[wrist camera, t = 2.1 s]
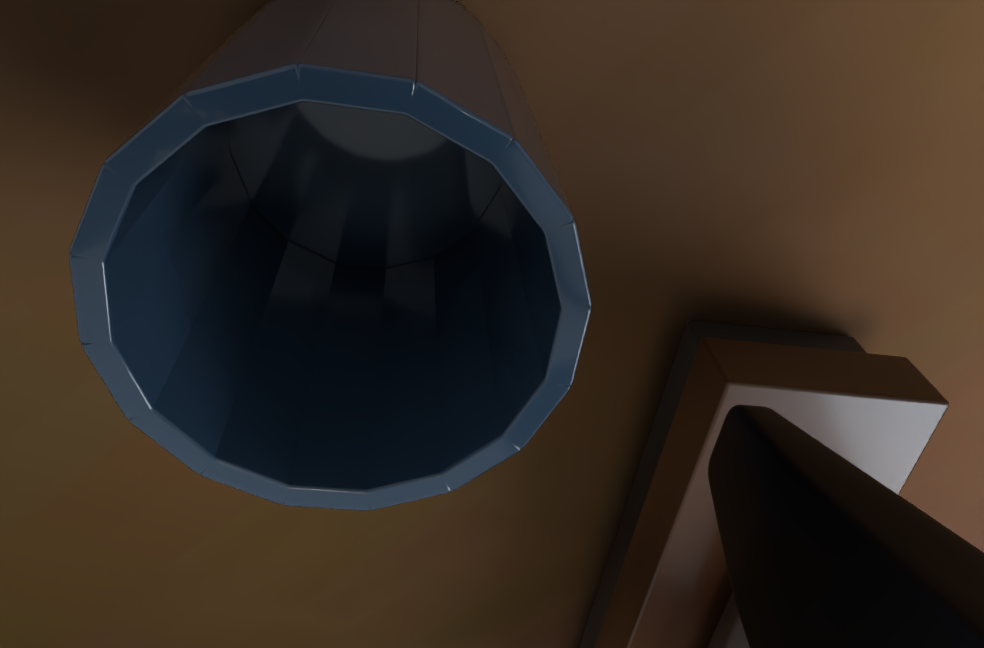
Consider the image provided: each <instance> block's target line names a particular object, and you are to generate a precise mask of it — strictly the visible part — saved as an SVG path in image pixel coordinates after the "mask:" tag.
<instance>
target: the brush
mask: <svg viewBox="0 0 984 648" xmlns="http://www.w3.org/2000/svg"><path fill="white" fill-rule="evenodd" d="M736 405H751V406H763V407H768V408H770V409H772V410H774V411H775V412H777V413H778V414H780V415H781V416H783V417H784V418H786V419H787V420H789V421H790V422H791V423H793V424H794V425H796V426H797V427H799V428H800V429H802V430H803V431H805V432H806V433H808V434H809V435H811V436H812V437H814V438H815V439H817V440H818V441H820V442H821V443H822V444H824V445H825V446H827V447H828V448H830V449H831V450H833V451H834V452H836V453H837V454H839V455H840V456H842V457H843V458H845V459H846V460H848V461H849V462H851V463H852V464H853V465H855V466H856V467H858V468H859V469H861V470H862V471H864V472H865V473H867V474H868V475H870V476H871V477H873V478H874V479H876V480H877V481H879V482H880V483H881V484H883V485H884V486H886V487H887V488H889V489H890V490H892V491H893V492H895V493H896V494H898V495H899V493H900V491H901V490H902V488H903V486H904V484H905V483H906V481H907V479H908V477H909V475H910V474H911V472H912V470H913V468H914V467H915V465H916V463H917V461H918V459H919V458H920V456H921V454H922V452H923V451H924V449H925V447H926V445H927V443H928V442H929V440H930V438H931V436H932V435H933V433H934V431H935V429H936V427H937V426H938V424H939V422H940V420H941V419H942V417H943V415H944V413H945V411H946V410H947V408H948V406H949V402H948V401H947V400H946V399H945V398H944V397H943V396H942V395H941V394H940V392H939V391H938V390H937V389H936V388H935V387H934V386H933V385H932V384H931V383H930V382H929V381H928V380H927V379H926V378H925V377H924V375H923V374H922V373H921V372H920V371H919V370H918V369H917V368H916V367H915V366H914V365H913V364H912V363H911V362H910V361H909V360H908V359H907V358H905V357H898V356H888V355H878V354H868V353H867V352H866V351H865V350H864V349H863V348H862V347H861V346H860V344H859V343H858V342H857V341H856V340H855V339H854V338H852V337H845V336H835V335H826V334H816V333H806V332H797V331H787V330H777V329H768V328H758V327H748V326H738V325H729V324H719V323H709V322H700V321H688V322H687V323H686V327H685V330H684V333H683V336H682V339H681V342H680V345H679V348H678V351H677V354H676V357H675V360H674V363H673V366H672V369H671V372H670V375H669V378H668V381H667V384H666V387H665V390H664V393H663V396H662V399H661V402H660V405H659V408H658V411H657V414H656V417H655V420H654V423H653V426H652V429H651V432H650V435H649V438H648V441H647V444H646V447H645V450H644V453H643V456H642V459H641V462H640V465H639V468H638V471H637V474H636V478H635V481H634V484H633V487H632V490H631V493H630V496H629V499H628V502H627V505H626V508H625V511H624V514H623V517H622V520H621V523H620V526H619V529H618V532H617V535H616V538H615V541H614V544H613V547H612V550H611V553H610V556H609V559H608V562H607V565H606V568H605V571H604V574H603V577H602V580H601V583H600V586H599V589H598V592H597V595H596V598H595V601H594V604H593V607H592V610H591V613H590V616H589V619H588V622H587V625H586V628H585V632H584V635H583V638H582V641H581V644H580V647H579V648H750V647H749V644H748V641H747V638H746V635H745V632H744V629H743V625H742V622H741V619H740V616H739V613H738V610H737V606H736V603H735V600H734V596H733V592H732V588H731V584H730V580H729V576H728V571H727V566H726V561H725V557H724V552H723V547H722V542H721V537H720V533H719V528H718V523H717V518H716V514H715V509H714V504H713V499H712V494H711V490H710V485H709V479H708V465H709V460H710V456H711V454H712V451H713V449H714V446H715V443H716V441H717V438H718V436H719V433H720V430H721V428H722V425H723V423H724V420H725V417H726V415H727V413H728V411H729V410H730V409H731V408H732V407H734V406H736Z"/></svg>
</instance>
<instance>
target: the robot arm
mask: <svg viewBox="0 0 984 648" xmlns="http://www.w3.org/2000/svg"><path fill="white" fill-rule="evenodd" d="M708 479H709V485H710V490H711V494H712V499H713V504H714V509H715V514H716V518H717V523H718V528H719V533H720V537H721V542H722V547H723V552H724V557H725V561H726V566H727V571H728V576H729V580H730V584H731V588H732V592H733V596H734V600H735V603H736V606H737V610H738V613H739V616H740V619H741V622H742V625H743V629H744V632H745V635H746V638H747V641H748V644H749V647H750V648H984V553H983V552H982V551H980V550H979V549H977V548H976V547H974V546H973V545H971V544H970V543H969V542H967V541H966V540H964V539H963V538H961V537H960V536H958V535H957V534H955V533H954V532H952V531H951V530H949V529H948V528H946V527H945V526H943V525H942V524H941V523H939V522H938V521H936V520H935V519H933V518H932V517H930V516H929V515H927V514H926V513H924V512H923V511H921V510H920V509H918V508H917V507H915V506H914V505H912V504H911V503H910V502H908V501H907V500H905V499H904V498H902V497H901V496H899V495H898V494H896V493H895V492H893V491H892V490H890V489H889V488H887V487H886V486H884V485H883V484H881V483H880V482H879V481H877V480H876V479H874V478H873V477H871V476H870V475H868V474H867V473H865V472H864V471H862V470H861V469H859V468H858V467H856V466H855V465H853V464H852V463H851V462H849V461H848V460H846V459H845V458H843V457H842V456H840V455H839V454H837V453H836V452H834V451H833V450H831V449H830V448H828V447H827V446H825V445H824V444H822V443H821V442H820V441H818V440H817V439H815V438H814V437H812V436H811V435H809V434H808V433H806V432H805V431H803V430H802V429H800V428H799V427H797V426H796V425H794V424H793V423H791V422H790V421H789V420H787V419H786V418H784V417H783V416H781V415H780V414H778V413H777V412H775V411H774V410H772V409H770V408H768V407H763V406H751V405H736V406H734V407H732V408H731V409H730V410H729V411H728V413H727V415H726V417H725V420H724V423H723V425H722V428H721V430H720V433H719V436H718V438H717V441H716V443H715V446H714V449H713V451H712V454H711V456H710V460H709V465H708Z"/></svg>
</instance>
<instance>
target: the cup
mask: <svg viewBox="0 0 984 648" xmlns="http://www.w3.org/2000/svg"><path fill="white" fill-rule="evenodd" d="M69 261H70V269H71V277H72V285H73V293H74V301H75V309H76V317H77V325H78V333H79V340H80V342H81V345H82V348H83V349H84V351H85V353H86V354H87V356H88V357H89V359H90V361H91V362H92V364H93V365H94V367H95V369H96V370H97V372H98V374H99V375H100V377H101V378H102V380H103V382H104V383H105V385H106V386H107V388H108V390H109V391H110V393H111V394H112V396H113V398H114V399H115V401H116V403H117V404H118V406H119V407H120V409H121V411H122V412H123V414H124V415H125V417H126V418H127V419H129V421H130V422H131V423H132V424H133V425H134V426H136V427H137V428H138V429H140V430H141V431H142V432H144V433H145V434H146V435H147V436H149V437H150V438H151V439H153V440H154V441H155V442H156V443H158V444H159V445H160V446H162V447H163V448H164V449H166V450H167V451H168V452H169V453H171V454H172V455H173V456H175V457H176V458H177V459H179V460H180V461H181V462H182V463H184V464H185V465H186V466H188V467H189V468H190V469H191V470H193V471H194V472H195V473H198V474H199V473H200V475H201V476H203V477H206V478H208V479H211V480H214V481H217V482H219V483H222V484H225V485H228V486H230V487H233V488H236V489H239V490H241V491H244V492H247V493H250V494H252V495H255V496H258V497H261V498H263V499H266V500H269V501H272V502H274V503H277V504H284V505H285V506H299V507H315V508H331V509H347V510H363V511H367V510H369V509H370V510H376V509H380V508H384V507H389V506H393V505H397V504H402V503H406V502H410V501H415V500H419V499H423V498H428V497H432V496H436V495H441V494H445V493H449V492H451V490H452V491H454V490H456V489H458V488H459V487H461V486H463V485H464V484H466V483H468V482H469V481H471V480H473V479H474V478H476V477H478V476H479V475H481V474H483V473H484V472H486V471H488V470H489V469H491V468H493V467H494V466H496V465H497V464H499V463H501V462H502V461H504V460H506V459H507V458H509V457H511V456H512V455H514V454H516V453H517V452H519V451H520V450H521V448H524V446H525V445H526V444H527V443H528V441H529V440H530V439H531V438H532V436H533V435H534V434H535V432H536V431H537V430H538V429H539V427H540V426H541V425H542V424H543V422H544V421H545V420H546V418H547V417H548V416H549V415H550V413H551V412H552V411H553V410H554V408H555V407H556V406H557V405H558V403H559V402H560V401H561V399H562V398H563V397H564V396H565V394H566V393H567V392H568V391H569V389H570V386H571V385H572V383H573V380H574V376H575V372H576V368H577V364H578V360H579V357H580V353H581V349H582V345H583V341H584V337H585V333H586V329H587V325H588V322H589V318H590V314H591V310H592V309H591V304H592V301H591V296H590V291H589V286H588V281H587V275H586V270H585V265H584V260H583V255H582V250H581V245H580V240H579V235H578V230H577V225H576V221H575V219H574V216H573V214H572V211H571V209H570V206H569V204H568V201H567V199H566V196H565V194H564V191H563V189H562V186H561V184H560V181H559V179H558V177H557V174H556V172H555V169H554V167H553V164H552V162H551V159H550V157H549V154H548V152H547V149H546V147H545V144H544V142H543V139H542V137H541V134H540V132H539V130H538V127H537V125H536V122H535V120H534V117H533V115H532V112H531V110H530V107H529V105H528V102H527V100H526V97H525V95H524V92H523V90H522V88H521V85H520V83H519V80H518V78H517V75H516V73H515V71H514V70H513V69H512V67H511V66H510V64H509V63H508V61H507V59H506V58H505V56H504V54H503V53H502V51H501V49H500V48H499V46H498V44H497V43H496V41H495V40H494V39H493V38H492V36H491V35H490V34H489V33H488V31H487V30H486V29H485V28H484V26H483V25H482V24H481V23H480V22H479V21H478V20H477V19H476V18H475V17H474V16H473V15H472V14H471V13H469V12H468V11H467V10H466V9H465V8H464V7H462V6H461V5H459V4H458V3H457V2H455V1H454V0H271V1H270V2H268V3H267V4H266V5H264V6H263V7H262V8H261V9H260V10H259V11H258V12H257V13H256V14H255V15H253V16H252V17H251V18H250V19H249V20H248V21H246V22H245V23H244V24H243V25H242V26H241V27H240V28H238V29H237V30H236V31H235V32H234V33H233V34H232V35H231V36H230V37H229V38H228V39H227V40H226V41H225V42H224V43H223V44H222V45H221V46H220V47H219V48H218V49H217V50H216V51H215V52H214V53H213V54H212V55H211V56H210V57H209V58H208V59H207V60H206V61H205V62H203V63H202V64H201V65H200V66H199V67H198V68H197V69H196V70H195V71H194V72H193V73H192V74H191V75H190V76H189V77H188V78H187V79H186V80H185V81H184V82H183V83H182V84H181V85H180V86H179V87H178V88H177V89H176V90H175V91H174V92H173V93H172V94H171V95H170V96H169V97H168V98H167V99H166V100H165V101H164V102H163V103H162V104H161V105H160V106H159V107H158V108H157V109H156V110H155V111H154V112H153V113H152V114H151V115H150V116H149V117H148V118H147V119H146V120H145V121H144V122H143V123H142V124H141V125H140V126H139V127H138V128H137V129H136V130H135V131H134V132H133V133H132V134H131V135H130V136H129V137H128V138H127V139H126V140H125V141H124V142H123V143H122V144H120V145H119V146H118V147H117V148H116V149H115V150H114V151H113V152H112V153H111V154H110V155H109V156H108V157H107V158H106V160H105V162H104V163H103V164H102V165H101V168H100V170H99V173H98V176H97V178H96V181H95V183H94V186H93V189H92V191H91V194H90V196H89V199H88V202H87V204H86V207H85V209H84V212H83V214H82V217H81V220H80V222H79V225H78V227H77V230H76V233H75V235H74V238H73V240H72V243H71V246H70V253H69Z"/></svg>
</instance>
